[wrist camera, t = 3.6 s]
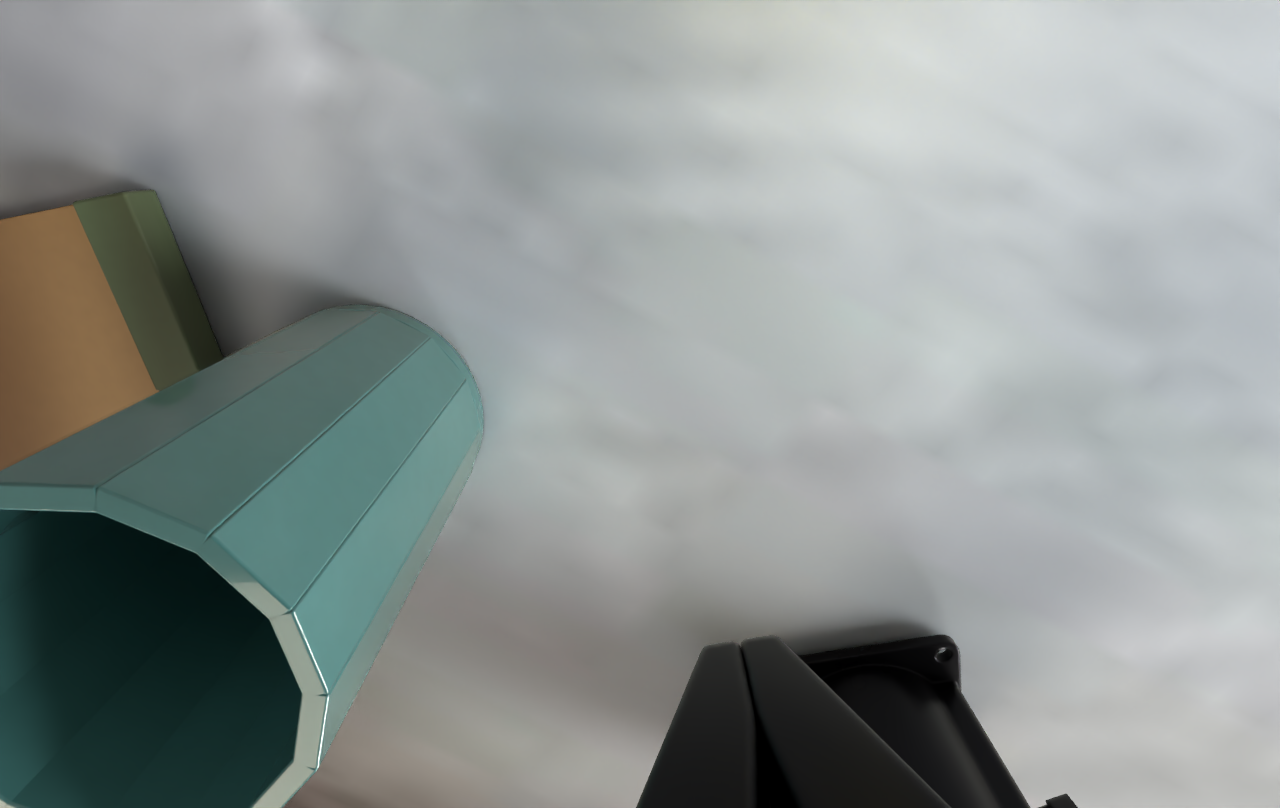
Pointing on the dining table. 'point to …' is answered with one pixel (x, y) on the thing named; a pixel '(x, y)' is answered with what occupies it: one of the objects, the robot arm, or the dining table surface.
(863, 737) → the robot arm
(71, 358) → the cork mat
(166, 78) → the dining table surface
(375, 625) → the cup
